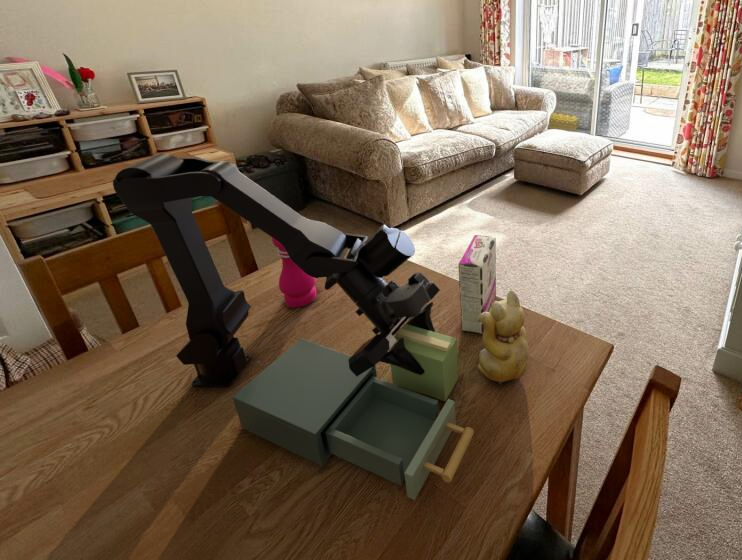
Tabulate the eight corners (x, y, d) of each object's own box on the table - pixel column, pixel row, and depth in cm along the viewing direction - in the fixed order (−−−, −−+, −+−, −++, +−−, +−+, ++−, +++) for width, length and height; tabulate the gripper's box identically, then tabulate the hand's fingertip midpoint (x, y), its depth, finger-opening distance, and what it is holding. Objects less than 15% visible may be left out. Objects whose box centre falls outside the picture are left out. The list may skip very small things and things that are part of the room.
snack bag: (445, 402, 66) (442, 357, 62) (393, 384, 69) (387, 340, 65) (458, 377, 70) (456, 334, 67) (408, 361, 73) (404, 319, 69)
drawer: (480, 433, 61) (480, 410, 59) (443, 514, 51) (441, 489, 49) (377, 393, 67) (374, 371, 65) (326, 459, 57) (321, 435, 55)
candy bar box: (475, 296, 92) (474, 233, 86) (496, 299, 91) (497, 236, 85) (459, 331, 81) (457, 262, 75) (483, 335, 81) (483, 266, 74)
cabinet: (379, 394, 68) (375, 364, 65) (322, 466, 57) (315, 434, 54) (307, 366, 73) (301, 337, 70) (242, 428, 62) (232, 397, 59)
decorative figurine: (503, 342, 79) (505, 278, 73) (539, 362, 75) (543, 296, 69) (471, 375, 72) (470, 307, 66) (508, 400, 67) (511, 329, 62)
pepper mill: (309, 309, 86) (293, 227, 79) (276, 308, 86) (256, 226, 79) (324, 288, 93) (310, 211, 85) (293, 287, 93) (276, 210, 86)
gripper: (355, 307, 55) (430, 392, 55) (427, 241, 71) (485, 307, 72) (318, 336, 60) (387, 414, 61) (393, 268, 76) (447, 330, 77)
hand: (431, 361), depth 67 cm, fingers closed on snack bag, 5 cm apart
